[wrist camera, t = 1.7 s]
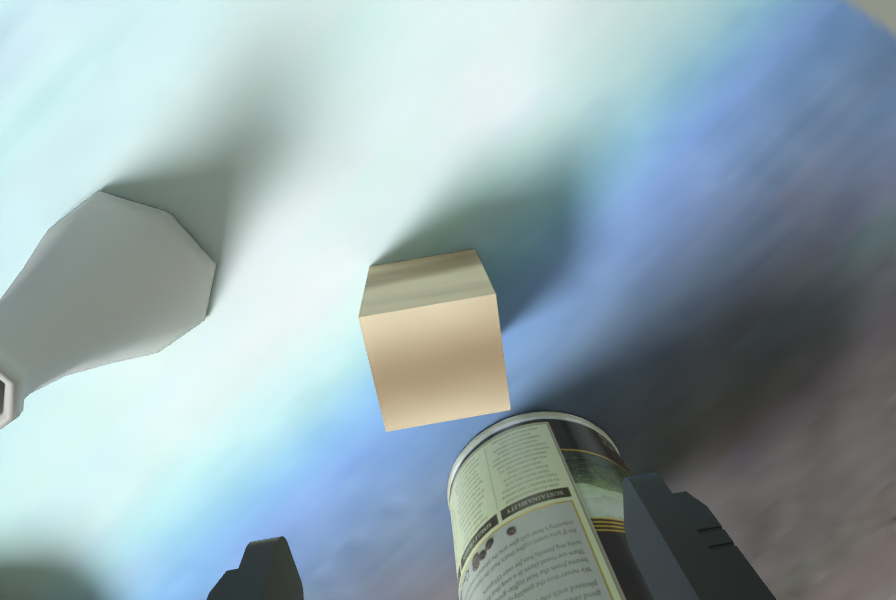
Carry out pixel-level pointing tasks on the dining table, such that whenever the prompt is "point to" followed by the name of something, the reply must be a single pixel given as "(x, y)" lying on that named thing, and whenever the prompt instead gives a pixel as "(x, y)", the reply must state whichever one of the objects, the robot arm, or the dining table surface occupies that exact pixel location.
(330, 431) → the dining table surface
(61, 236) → the flask
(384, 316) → the maple block
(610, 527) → the coffee can
